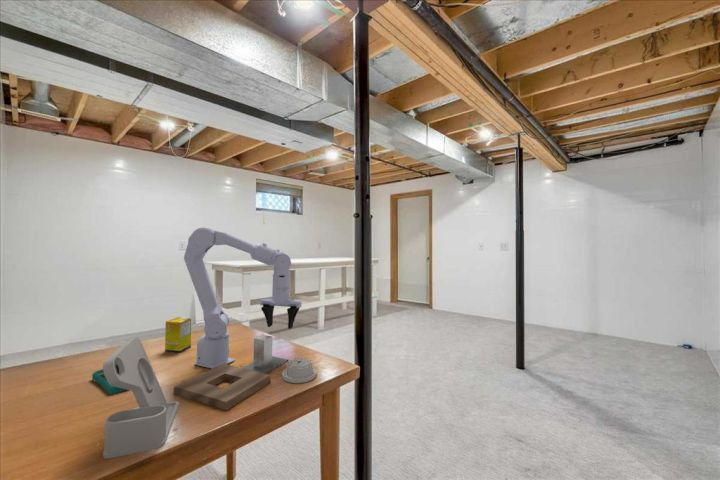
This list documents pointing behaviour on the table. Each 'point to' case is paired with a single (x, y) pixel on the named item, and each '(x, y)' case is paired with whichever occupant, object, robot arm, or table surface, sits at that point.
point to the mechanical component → (299, 371)
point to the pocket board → (219, 397)
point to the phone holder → (154, 412)
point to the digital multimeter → (105, 382)
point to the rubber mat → (275, 363)
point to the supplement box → (178, 335)
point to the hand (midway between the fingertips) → (280, 327)
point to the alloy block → (262, 351)
